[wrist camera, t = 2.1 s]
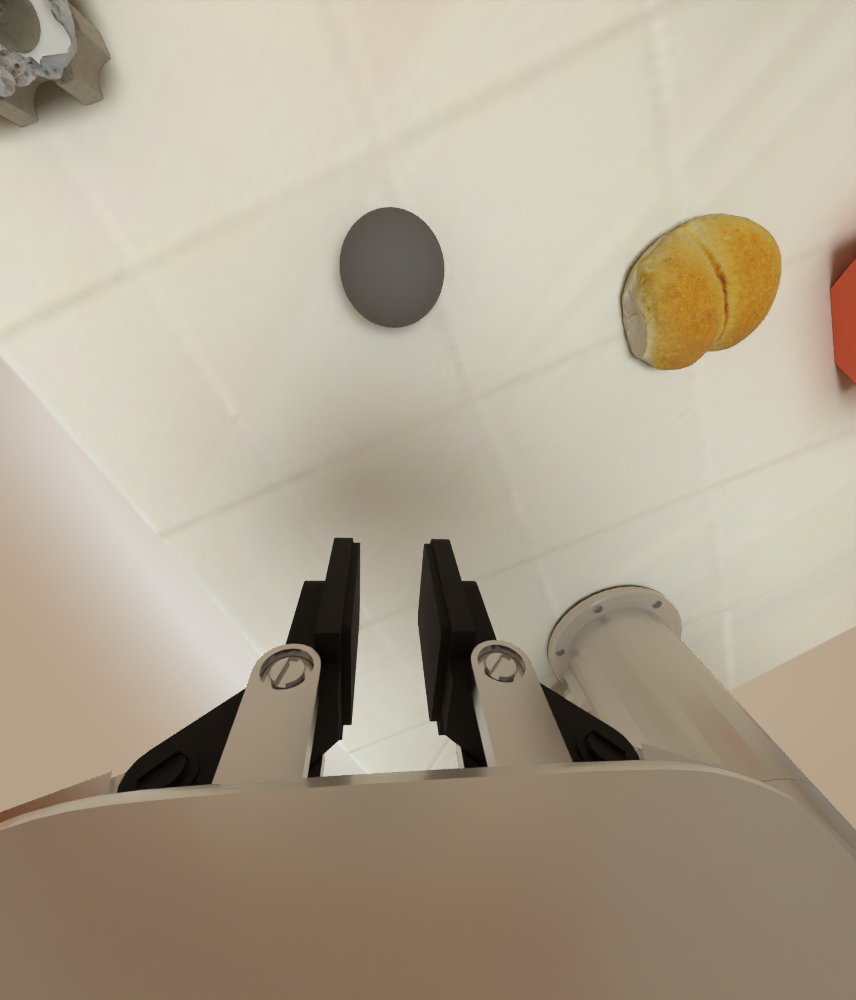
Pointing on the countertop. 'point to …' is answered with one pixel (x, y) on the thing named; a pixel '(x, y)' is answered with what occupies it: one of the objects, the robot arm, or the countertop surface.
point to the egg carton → (46, 59)
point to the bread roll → (700, 290)
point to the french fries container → (845, 321)
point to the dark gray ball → (392, 267)
